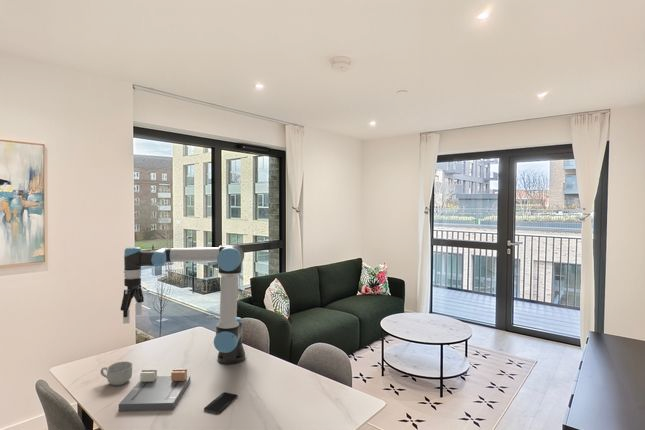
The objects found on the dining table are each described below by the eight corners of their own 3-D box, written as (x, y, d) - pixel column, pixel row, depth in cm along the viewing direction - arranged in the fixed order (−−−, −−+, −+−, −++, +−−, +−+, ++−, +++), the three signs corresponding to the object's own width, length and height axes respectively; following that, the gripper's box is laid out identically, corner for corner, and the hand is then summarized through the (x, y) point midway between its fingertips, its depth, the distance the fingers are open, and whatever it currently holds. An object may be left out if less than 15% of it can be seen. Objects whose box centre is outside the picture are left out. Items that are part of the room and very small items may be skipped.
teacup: (137, 377, 176) (137, 361, 175) (122, 389, 165) (122, 372, 165) (110, 376, 177) (110, 360, 177) (94, 387, 166) (94, 370, 166)
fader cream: (157, 377, 169) (157, 368, 169) (153, 381, 165) (153, 372, 165) (143, 377, 169) (143, 368, 169) (140, 381, 165) (140, 372, 165)
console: (190, 381, 172) (190, 375, 172) (173, 409, 149) (173, 402, 148) (143, 382, 171) (143, 376, 171) (118, 411, 147) (118, 403, 147)
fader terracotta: (187, 376, 170) (187, 367, 170) (184, 380, 166) (184, 371, 166) (174, 376, 170) (174, 367, 170) (171, 380, 166) (171, 371, 166)
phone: (202, 409, 148) (223, 391, 162) (202, 411, 148) (223, 394, 162) (218, 413, 146) (238, 395, 160) (218, 415, 146) (238, 397, 160)
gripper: (136, 273, 194) (136, 311, 194) (112, 282, 169) (112, 327, 169) (150, 273, 194) (150, 311, 194) (128, 282, 169) (128, 326, 170)
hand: (132, 318), depth 182 cm, fingers open, 13 cm apart
